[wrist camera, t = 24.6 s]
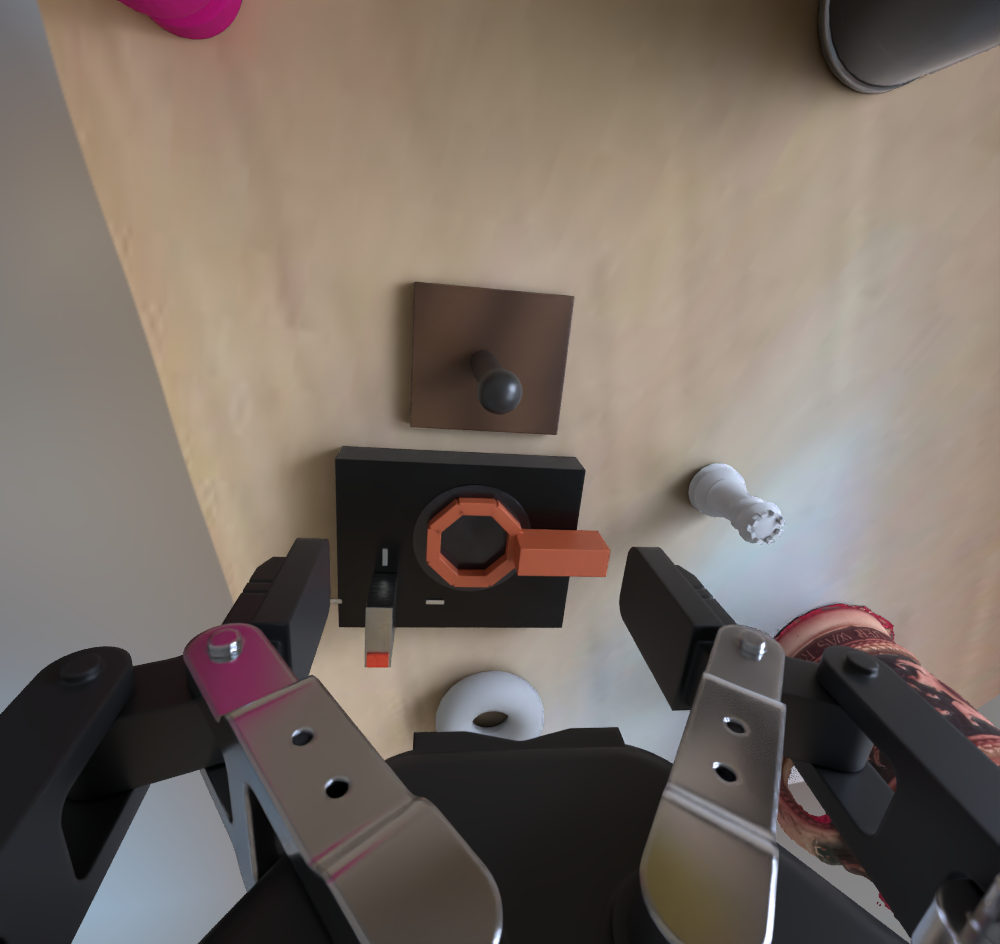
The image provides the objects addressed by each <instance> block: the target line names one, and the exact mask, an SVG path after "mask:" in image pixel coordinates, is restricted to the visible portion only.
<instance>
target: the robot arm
mask: <svg viewBox="0 0 1000 944" xmlns="http://www.w3.org/2000/svg"><path fill="white" fill-rule="evenodd" d="M818 28H819V38H820V43H821V47H822V51H823V54H824V57H825V59H826V62H827V63H828V65H829V67H830V69H831V70H832V72H833V73H834V74H835V76H836V77H837V78H838V79H839V80H840V81H841V82H842V83H844V84H845V85H846V86H848V87H850V88H852V89H853V90H856V91H859V92H863V93H871V94H873V93H883V92H887V91H891V90H893V89H896V88H898V87H901V86H903V85H906V84H908V83H910V82H912V81H914V80H915V79H917V78H918V77H920V76H922V75H924V74H927V73H928V74H932V73H935V72H937V71H940V70H942V69H944V68H947V67H949V66H952V65H954V64H956V63H959V62H961V61H963V60H966V59H968V58H971V57H973V56H975V55H978V54H980V53H983V52H985V51H987V50H990V49H992V48H994V47H997V46H999V45H1000V0H820V5H819V16H818ZM330 594H331V591H330V554H329V542H328V539H320V538H297V539H296V540H295V542H294V543H293V545H292V547H291V549H290V551H289V553H288V554H287V556H286V557H272V558H271V559H269V560H268V561H266V562H265V563H263V564H262V565H260V566H259V567H257V569H256V570H255V572H254V574H253V575H252V577H251V578H250V580H249V583H247V585H246V586H245V588H244V589H243V593H241V594H240V596H239V597H238V599H237V601H236V602H235V604H234V605H233V607H232V609H231V610H230V612H229V613H228V615H227V617H226V618H225V620H224V622H223V623H222V625H220V626H216V627H213V628H211V629H208V630H206V631H204V632H202V633H200V634H199V635H197V636H196V637H194V638H193V639H192V640H191V641H190V642H189V643H188V644H187V645H186V647H185V649H184V652H183V655H181V656H178V657H175V658H171V659H167V660H162V661H157V662H152V663H147V664H142V665H137V666H133V665H132V660H131V656H130V654H129V653H128V652H127V651H125V650H124V649H121V648H118V647H107V646H104V647H94V648H89V649H84V650H81V651H77V652H74V653H71V654H69V655H67V656H64V657H62V658H60V659H58V660H56V661H54V662H53V663H51V664H49V665H48V666H47V667H45V668H44V669H43V670H41V671H40V672H39V673H38V674H37V675H36V676H35V678H34V679H33V680H32V681H31V682H30V683H29V684H28V685H27V686H26V687H25V688H24V689H23V691H22V692H21V693H20V694H19V695H18V696H17V697H16V698H15V699H14V700H13V701H12V702H11V704H10V705H9V706H8V707H7V708H6V709H5V710H4V711H3V712H2V713H1V714H0V944H71V943H72V940H73V939H74V937H75V935H76V933H77V931H78V929H79V927H80V925H81V923H82V921H83V919H84V917H85V915H86V913H87V911H88V909H89V907H90V905H91V902H92V900H93V899H94V896H95V895H96V893H97V891H98V889H99V886H100V885H101V883H102V881H103V878H104V877H105V875H106V873H107V870H108V869H109V867H110V864H111V863H112V860H113V858H114V856H115V854H116V853H117V851H118V849H119V846H120V844H121V842H122V840H123V838H124V836H125V834H126V832H127V830H128V828H129V826H130V824H131V822H132V820H133V818H134V816H135V814H136V812H137V810H138V808H139V806H140V804H141V802H142V800H143V798H144V796H145V794H146V792H147V790H148V788H149V786H150V784H151V783H155V782H158V781H162V780H165V779H169V778H172V777H175V776H179V775H183V774H186V773H189V772H193V771H196V770H200V772H201V775H202V777H203V779H204V781H205V784H206V786H207V788H208V790H209V793H210V795H211V797H212V799H213V801H214V803H215V806H216V808H217V810H218V813H219V815H220V817H221V819H222V822H223V824H224V826H225V828H226V830H227V833H228V835H229V837H230V839H231V842H232V844H233V847H234V850H235V853H236V857H237V861H238V865H239V869H240V873H241V876H242V879H243V882H244V885H245V888H246V891H247V893H246V894H245V895H244V896H243V897H242V898H241V899H240V901H238V902H237V904H236V905H235V906H234V907H233V908H232V909H231V910H230V911H229V912H228V913H227V914H226V915H225V916H224V917H223V918H222V919H221V920H220V921H219V922H218V923H217V924H216V925H215V926H214V927H213V928H212V929H211V931H210V932H209V933H208V934H207V935H206V936H205V937H204V938H203V939H202V940H201V941H200V942H199V943H198V944H909V943H908V942H907V941H905V940H904V939H903V938H901V937H900V936H899V935H897V934H896V933H895V932H894V931H892V930H891V929H890V928H888V927H887V926H886V925H884V924H883V923H882V922H880V921H879V920H878V919H876V918H875V917H874V916H873V915H871V914H870V913H868V912H867V911H866V910H865V909H863V908H862V907H861V906H859V905H858V904H857V903H855V902H854V901H853V900H851V899H850V898H849V897H848V896H846V895H845V894H844V893H842V892H841V891H840V890H838V889H837V888H836V887H834V886H833V885H832V884H831V883H829V882H828V881H827V880H825V879H824V878H822V877H821V876H820V875H819V874H817V873H816V872H815V871H814V870H812V869H811V868H810V867H808V866H807V865H806V864H804V863H803V862H802V861H800V860H799V859H798V858H796V857H795V856H794V855H793V854H791V853H790V852H788V851H787V850H786V849H785V848H783V847H782V846H780V845H779V844H778V843H777V842H776V826H777V814H778V802H779V791H780V779H781V767H782V757H786V758H790V759H791V761H792V762H793V764H794V766H795V767H796V769H797V770H798V772H799V773H800V775H801V776H802V778H803V779H804V781H805V782H806V783H807V785H808V786H809V788H810V789H811V791H812V792H813V794H814V795H815V797H816V798H817V800H818V801H819V802H820V804H821V806H822V807H823V809H824V810H825V812H826V813H827V815H828V816H829V818H830V819H831V821H832V822H833V824H834V825H835V827H836V828H837V830H838V831H839V833H840V834H841V836H842V837H843V839H844V840H845V842H846V843H847V845H848V846H849V848H850V849H851V851H852V852H853V853H854V855H855V856H856V858H857V859H858V861H859V862H860V864H861V865H862V867H863V868H864V870H865V871H866V873H867V874H868V876H869V877H870V879H871V880H872V882H873V883H874V885H875V886H876V888H877V889H878V891H879V892H880V894H881V895H882V897H883V898H884V900H885V901H886V903H887V904H888V906H889V907H890V909H891V910H892V912H893V913H894V915H895V916H896V918H897V919H898V921H899V922H900V924H901V925H902V926H903V928H904V929H905V931H906V932H907V934H908V935H909V937H910V938H911V944H1000V767H999V766H997V765H996V764H995V763H994V762H993V761H992V760H991V759H990V758H989V757H988V756H987V755H985V754H984V753H983V752H982V751H981V750H980V749H979V748H978V747H977V746H976V745H975V744H973V743H972V742H971V741H970V740H969V739H968V738H967V737H966V736H965V735H964V734H963V733H961V732H960V731H959V730H958V729H957V728H956V727H955V726H954V725H953V724H952V723H950V722H949V721H948V720H947V719H946V718H945V717H944V716H943V715H942V714H941V713H940V712H938V711H937V710H936V709H935V708H934V707H933V706H932V705H931V704H930V703H929V702H928V701H926V700H925V699H924V698H923V697H922V696H921V695H920V694H919V693H918V692H917V691H916V690H914V689H913V688H912V687H911V686H910V685H909V684H908V683H907V682H906V681H905V680H903V679H902V678H901V677H900V676H899V675H898V674H897V673H896V672H895V671H894V670H893V669H891V668H890V667H889V666H888V665H887V664H885V663H884V662H882V661H881V660H879V659H878V658H876V657H874V656H872V655H870V654H868V653H866V652H864V651H861V650H858V649H855V648H851V647H847V646H839V645H836V646H829V647H827V648H826V649H825V650H824V652H823V654H822V657H821V660H820V663H816V662H812V661H807V660H802V659H797V658H793V657H788V656H785V652H784V650H783V648H782V646H781V645H780V644H779V643H778V642H777V641H776V640H774V639H773V638H772V637H770V636H769V635H767V634H765V633H763V632H761V631H759V630H757V629H754V628H751V627H748V626H743V625H737V624H736V623H735V621H734V620H733V619H732V618H731V617H730V616H729V615H728V613H727V612H726V611H725V610H724V609H723V608H722V607H721V605H720V604H719V603H718V602H717V601H716V600H715V599H713V596H712V595H711V594H710V593H709V592H708V591H707V589H704V586H703V585H702V584H701V582H700V581H699V580H698V579H697V578H696V577H695V576H694V575H693V574H691V573H690V572H688V571H687V570H685V569H683V568H682V567H680V566H679V565H674V563H673V562H672V561H671V560H670V559H669V557H668V556H667V555H666V554H665V553H664V551H663V550H662V549H661V548H659V547H632V548H631V549H630V550H629V552H628V556H627V561H626V566H625V571H624V576H623V582H622V587H621V592H620V599H619V605H620V613H621V616H622V619H623V621H624V623H625V625H626V626H627V628H628V630H629V632H630V634H631V636H632V637H633V639H634V641H635V643H636V645H637V647H638V648H639V650H640V652H641V654H642V656H643V658H644V659H645V661H646V663H647V665H648V667H649V668H650V670H651V672H652V674H653V676H654V678H655V679H656V681H657V683H658V685H659V687H660V689H661V690H662V692H663V694H664V696H665V698H666V700H667V701H668V703H669V705H670V707H671V709H672V711H676V710H691V711H690V714H689V717H688V720H687V723H686V727H685V730H684V733H683V736H682V739H681V742H680V745H679V748H678V751H677V754H676V757H675V760H674V763H673V764H672V763H670V762H669V761H667V760H666V759H664V758H662V757H660V756H658V755H656V754H654V753H651V752H649V751H646V750H644V749H641V748H637V747H634V746H631V745H626V744H625V743H624V740H623V738H622V736H621V733H620V731H619V728H618V727H608V728H570V729H566V730H562V731H559V732H555V733H551V734H547V735H543V736H540V737H536V738H532V739H528V740H524V741H516V740H510V739H505V738H500V737H495V736H489V735H484V734H479V733H473V732H468V731H450V732H414V739H413V750H411V751H407V752H404V753H401V754H398V755H396V756H393V757H391V758H388V759H387V760H385V761H384V759H383V758H382V757H381V756H380V754H379V753H378V752H377V751H376V750H375V748H374V747H373V746H372V745H371V743H370V742H369V741H368V740H367V738H366V737H365V736H364V735H363V733H362V732H361V731H360V730H359V729H358V727H357V726H356V725H355V724H354V722H353V721H352V720H351V719H350V717H349V716H348V715H347V714H346V712H345V711H344V710H343V709H342V708H341V706H340V705H339V704H338V703H337V701H336V700H335V699H334V698H333V696H332V695H331V694H330V693H329V692H328V690H327V689H326V688H325V687H324V685H323V684H322V683H321V682H320V681H319V679H318V678H316V677H315V676H313V675H310V676H308V675H309V672H310V669H311V666H312V663H313V660H314V657H315V654H316V651H317V648H318V645H319V642H320V639H321V636H322V633H323V629H324V626H325V623H326V620H327V617H328V613H329V607H330ZM873 745H875V746H876V747H877V748H878V750H879V751H880V752H881V753H882V754H883V755H884V756H885V758H886V759H887V760H888V761H889V763H890V764H891V766H892V768H893V770H894V773H895V777H896V790H895V793H894V791H893V790H892V789H891V788H890V787H889V785H888V784H887V783H886V782H885V781H884V779H883V778H882V777H881V776H880V775H879V773H878V772H877V771H876V770H875V769H874V767H873V766H872V765H871V764H870V763H869V761H868V760H867V759H868V757H869V754H870V752H871V750H872V748H873Z"/></svg>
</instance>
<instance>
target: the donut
mask: <svg viewBox="0 0 1000 944" xmlns="http://www.w3.org/2000/svg"><path fill="white" fill-rule="evenodd" d="M488 711H499V712H502V713H505V714H507V715H508V718H507V719H506V720H505V721H504V722H503V723H501V724H499V725H497V726H494V727H479V726H477V725H475V724H474V723H473V722H472V721H473V720H474V719H475V717H477V716H478V715H480V714H482V713H485V712H488ZM543 723H544V708H543V705H542V702H541V700H540V697H539V695H538V693H537V691H536V690H535V689H534V688H533V687H532V686H531V685H530V684H529V683H528V682H527V681H526V680H524V679H522V678H520V677H518V676H516V675H514V674H512V673H507V672H502V671H487V672H479V673H476V674H473V675H471V676H468V677H465V678H464V679H462V680H461V681H459V682H458V683H456V684H455V685H453V686H452V687H451V688H450V690H449V691H448V692H447V693H446V695H445V696H444V697H443V698H442V700H441V702H440V705H439V707H438V710H437V713H436V732H450V731H468V732H473V733H479V734H484V735H489V736H495V737H500V738H505V739H510V740H516V741H524V740H528V739H532V738H536V737H539V735H540V733H541V730H542V728H543Z"/></svg>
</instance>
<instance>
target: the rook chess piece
mask: <svg viewBox="0 0 1000 944" xmlns="http://www.w3.org/2000/svg"><path fill="white" fill-rule="evenodd" d="M688 495H689V499H690V502H691V504H692V505H693V506H694V507H695V508H696V509H697V510H699V511H701V512H702V513H703V514H706V515H708V516H711V517H724V518H726V519H728V520H730V521H731V524H732V525H733V527H734V528H735V529H737V530H739V534H740V536H741V537H742V538H743V539H744V540H745V541H747V542H750V543H758V544H761V545H762V543H763V542H764V541H765V542H766V543H767V544H771V543H773V542H775V541H774V539H773V538H772V537H773V536H775V535H776V534H777V535H778V536H780V537H781V535H782V534H783V532H784V530H782V529H781V528H780V526H782V525H785V521H784V518H782V515H781V511H780V509H779V508H778V507H777V506H776V505H775V504H773V503H770V502H763V501H762V500H761V499H760V498H758V497H755V496H753V497H752V496H751V495H750V494H749V493H748V492H747V489H746V485H745V482H744V479H743V477H742V476H741V475H740V474H739V473H738V472H737V471H735V470H734V469H733V468H732V467H731V466H728V465H726V464H723V463H720V464H711V465H709V466H707V467H704V468H702V469H701V470H700V471H699V472H698V473H697V474H696V475H695V476H694V478H693V479H692V481H691V483H690V485H689V493H688Z"/></svg>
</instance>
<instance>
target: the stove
mask: <svg viewBox="0 0 1000 944" xmlns="http://www.w3.org/2000/svg"><path fill="white" fill-rule="evenodd" d="M585 471H586V470H585V469H584V467H583V466H582V465H581V464H580V462H579V461H578V460H577V459H576V457H558V456H538V455H517V454H496V453H475V452H454V451H433V450H412V449H391V448H370V447H349V446H342V448H341V450H340V452H339V453H338V455H337V457H336V459H335V474H336V520H337V565H338V598H330V603H338V611H339V627H365V619H366V604H367V600H368V595H369V590H370V586H371V581H372V577H373V573H391V574H397V595H396V620H395V627H488V628H562V623H563V616H564V610H565V603H566V596H567V590H568V583H569V577H570V576H518V575H517V572H516V573H515V574H514V575H512V576H511V577H510V578H509V579H507V580H506V581H504V582H503V583H501V584H499V585H497V586H494V587H492V588H488V589H485V590H479V591H460V590H455V589H451V588H448V587H445V586H443V585H441V584H439V583H438V582H436V581H434V580H433V579H432V578H431V577H429V576H428V575H427V574H426V573H425V572H424V570H423V569H422V568H421V566H420V565H419V563H418V561H417V559H416V556H415V553H414V549H413V531H414V527H415V524H416V521H417V519H418V517H419V515H420V513H421V512H422V510H423V509H424V508H425V506H426V505H427V504H428V503H429V502H430V501H431V500H432V499H434V498H435V497H437V496H438V495H439V494H441V493H443V492H445V491H447V490H449V489H452V488H455V487H459V486H464V485H485V486H490V487H494V488H496V489H499V490H501V491H503V492H505V493H507V494H508V495H510V496H511V497H513V498H514V499H515V500H516V501H517V502H518V503H519V504H520V506H521V507H522V508H523V510H524V511H525V513H526V515H527V517H528V520H529V523H530V527H531V529H545V530H577V524H578V517H579V510H580V504H581V497H582V491H583V484H584V477H585Z"/></svg>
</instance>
